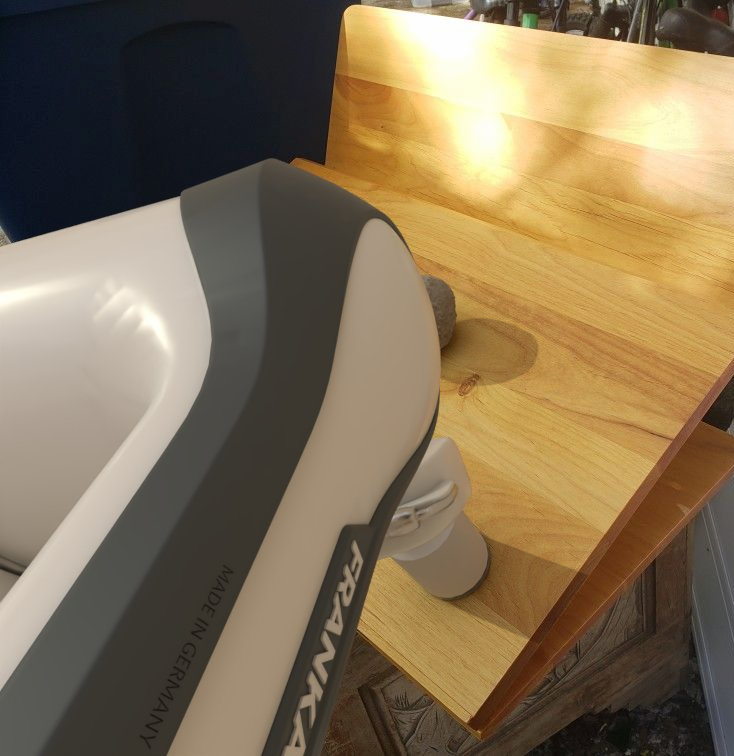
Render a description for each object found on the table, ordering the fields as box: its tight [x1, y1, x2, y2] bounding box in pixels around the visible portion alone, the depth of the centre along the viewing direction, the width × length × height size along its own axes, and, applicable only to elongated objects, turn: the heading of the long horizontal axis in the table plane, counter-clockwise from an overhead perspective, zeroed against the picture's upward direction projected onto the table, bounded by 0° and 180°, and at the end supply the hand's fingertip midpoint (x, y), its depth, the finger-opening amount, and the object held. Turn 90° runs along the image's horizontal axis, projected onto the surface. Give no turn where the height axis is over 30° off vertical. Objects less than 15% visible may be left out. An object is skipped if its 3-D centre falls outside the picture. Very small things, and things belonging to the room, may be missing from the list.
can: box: [389, 509, 488, 598], centre depth 63 cm, size 8×8×12 cm
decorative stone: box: [421, 274, 458, 350], centre depth 83 cm, size 10×8×10 cm
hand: (325, 493), depth 43 cm, fingers open, 8 cm apart
